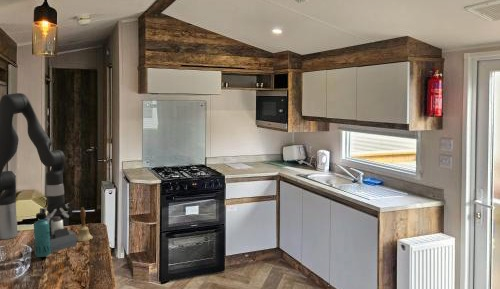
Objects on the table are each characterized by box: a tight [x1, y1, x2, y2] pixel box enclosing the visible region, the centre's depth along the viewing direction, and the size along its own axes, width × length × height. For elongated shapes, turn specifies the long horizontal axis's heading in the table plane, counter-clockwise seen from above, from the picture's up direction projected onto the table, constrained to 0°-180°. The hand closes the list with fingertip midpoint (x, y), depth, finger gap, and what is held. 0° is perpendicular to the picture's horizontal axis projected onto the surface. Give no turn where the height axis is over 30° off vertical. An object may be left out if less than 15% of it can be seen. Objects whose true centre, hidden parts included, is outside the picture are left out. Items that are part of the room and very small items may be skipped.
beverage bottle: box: [33, 212, 52, 258], centre depth 188 cm, size 6×7×20 cm
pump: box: [50, 215, 64, 237], centre depth 200 cm, size 5×5×8 cm
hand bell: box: [76, 206, 94, 242], centre depth 213 cm, size 8×8×16 cm
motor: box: [50, 226, 78, 253], centre depth 200 cm, size 17×8×10 cm, turn 138°
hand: (57, 227), depth 201 cm, fingers open, 8 cm apart
